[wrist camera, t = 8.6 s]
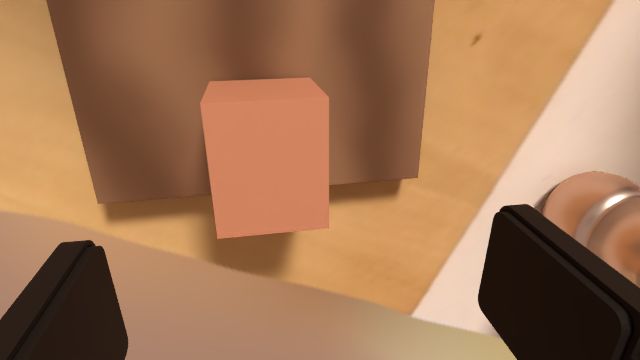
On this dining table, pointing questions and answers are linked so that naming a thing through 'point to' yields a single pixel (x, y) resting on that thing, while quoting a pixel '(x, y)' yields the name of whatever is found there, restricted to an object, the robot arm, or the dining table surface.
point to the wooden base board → (239, 64)
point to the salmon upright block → (267, 155)
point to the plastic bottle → (601, 218)
